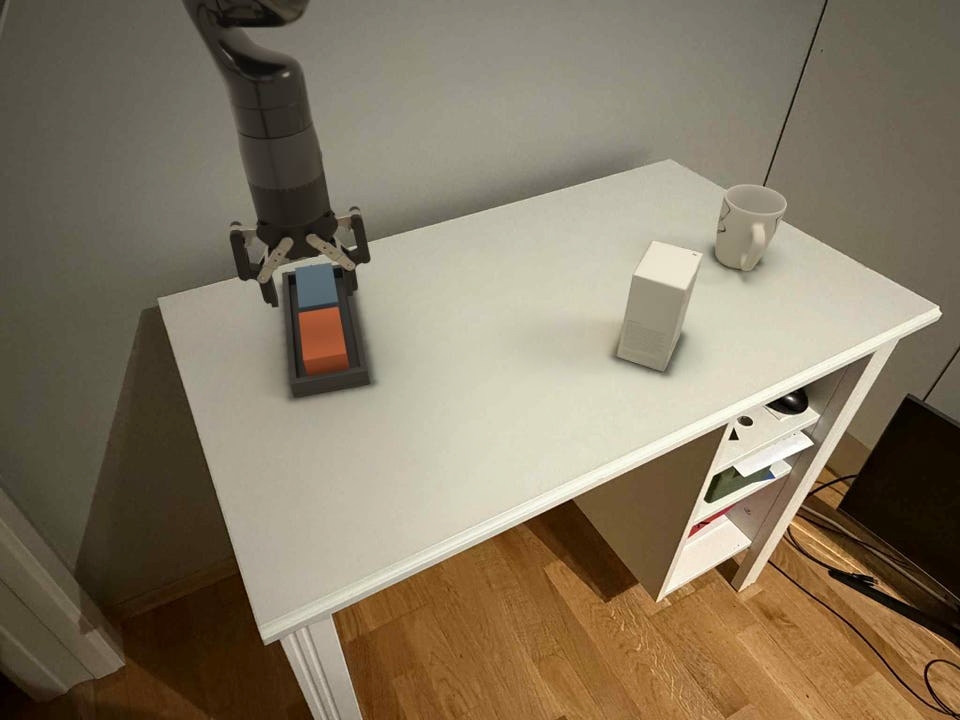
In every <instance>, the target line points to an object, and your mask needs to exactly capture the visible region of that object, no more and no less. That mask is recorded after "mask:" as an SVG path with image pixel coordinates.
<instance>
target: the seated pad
mask: <svg viewBox="0 0 960 720" xmlns="http://www.w3.org/2000/svg"><path fill="white" fill-rule="evenodd" d="M332 265H333V263H332V262H325V263H320V264H319V263H318V264H313V265H305V266H299V267H294V271H295V274H296V284H297V294H298V304H299V310H300V313H303V312H309V311H315V310H321V309H327V308H334V307H338V308H339V313H340V318H341V312H340V307H339V301H338V295H337V289H336V283H335V278H334V273H333V268H332ZM341 322H342V318H341Z"/></svg>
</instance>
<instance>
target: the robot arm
mask: <svg viewBox="0 0 960 720" xmlns="http://www.w3.org/2000/svg"><path fill="white" fill-rule="evenodd" d="M179 1H180V4H181V6H182V8H183V10H184V12H185V14H186V15H187V18H188V19H189V21H190V23H191V24H192V26H193V28H194V30H195V31H196V33H197V35H198V37H199V38H200V40H201V41H202V44H203V45H204V47H205V49H206V51H207V53H208V55H209V56H210V59H211V61H212V63H213V65H214V66H215V69H216V70H217V73H218V75H219V76H220V78H221V81H222V82H223V84H224V86H225V90H226V91H225V92H226V95H227V98H228V102H229V106H230V110H231V113H232V117H233V121H234V125H235V128H236V133H237V139H238V149H239V154H240V158H241V162H242V166H243V169H244V172H245V177H246V181H247V185H248V188H249V192H250V195H251V196H250V197H251V199H252V203H253V207H254V210H255V214H256V219H257V221H256V224H247V225H243V224H242V223H241V222H239V221H237V220H233V221H232V222H230V224H229V243H230V246H231V250H232V254H233V259H234V263H235V267H236V273H237V276H238V279H239V280H240V281H242V282H247V281H249V280H254V281H256V282H257V283H258V285H259V288H260V290H261V296H262V299H263V301H264V303H265V304H266V305H270V306H271V308H272V309H274V308H279V305H280V304H279V297H278V293H277V288H276V284H275V281H274V276H273V274H274V272H275V271H276V270H278V268H279V267H280V265H281V263H282V262H283V260H284V259H288V260H289V262H290V261H297V260H300V259H302V258H310V259H311V258H318V257H319V255H320V254H323V255H324V256H325V257H326V258H328V259H329V260H331V261H332V262H336V263H337V264H340V265H341V266H342V268H343V274H344V280H345V286H346V291H347V296H353V297H354V292H356V291H358V288H359V284H358V276H357V271H356V269H357V267H358V266H359V265H361V264H363V265H366V264H369V263H370V262H371V257H372V256H371V253H370V249H369V244H368V240H367V239H368V237H367V234H366V229H365V224H364V220H363V216H362V212H361V208H359V207H358V206H356V205H354V206H351V207H349V210H348V211H345V212H341V213H335V212H334V210H333V209H332V207H331V201H330V196H329V190H328V185H327V179H326V173H325V167H324V161H323V153H322V149H321V145H320V140H319V136H318V134H317V131H316V127H315V124H314V120H313V114H312V109H311V104H310V98H309V92H308V86H307V80H306V76H305V72H304V68H303V66H302V63H301V62H300V61H299V59H297V58H296V57H295V56H293V55H292V54H291V53H287V52H283V51H280V50H277V49H274V48H270V47H266V46H264V45H261V44H260V43H258V42H256V41H254V40H253V39H252V38H251V36H250V35H249V33H248V32H247V31H246V30H245V29H286V28H290V27H293V26H294V25H295V26H296V25H297V24H298V23H299V22H300V21H301V20H302V19H304V17H305V16H306V14H307V12H308V11H309V8H310V6H311V2H312V0H179ZM10 4H11V0H0V41H2V36H3V32H4V28H5V24H6V20H7V17H8V16H7V15H8V12H9V7H10ZM339 227H343V228H344V229H345V231H346V232H347V233H349V234H353V235H354V240H355V244H356V247H355V248H353V249H351V250H350V248H348V247H347V246H346V245H345V244H343V243H342V242H341V240H340V239H339V238H338V237H337V236H336V235H335V234H336V232H337V230H338V229H339ZM254 238H257V239H258V240H259V241H261V242H262V243H264V244H265V245H266V246H265V248H264V251H263V253H262V256H261V257H260V258H259V261H258V262H257V263H256V262H251V260H250V256H249V252H248V248H249V247H251V246H252V245H253V240H254Z"/></svg>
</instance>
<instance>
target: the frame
mask: <svg viewBox="0 0 960 720" xmlns="http://www.w3.org/2000/svg"><path fill="white" fill-rule="evenodd" d="M332 268H333V273H334V278H335V283H336V289H337V295H338V301H339V307H340V312H341V318H342V322H341V323H342V329H343V334H344V340H345V346H346V352H347V357H348V363H349V369H346V370H340V371H335V372H329V373H323V374H318V375H312V376H307V373H306V369H305V365H304V361H303V352H302V342H301V332H300V322H299V313H300V310H299V304H298V294H297V284H296V274H295V270H292V271H285V272H281V280H282V293H283V294H282V296H283V307H284V308H283V309H284V321H285V322H284V323H285V332H286V333H285V335H286V349H287V350H286V351H287V363H288V364H287V365H288V377H289V379H288V380H289V386H290V389H291V392H292V395H293V398H294V399H295V398H301V397H305V396H311V395H316V394H317V395H318V394H322V393H328V392H333V391H337V390H344V389H348V388H355V387H361V386H366V385H370V384H371V381H370V380H371V379H370V373H369V367H368V363H367V358H366V353H365V349H364V343H363V339H362V338H363V337H362V334H361V327H360V323H359V318H358V313H357V308H356V304H355V303H356V302H355V298H354V295H353V296H347V291H346V286H345V280H344V274H343V268H342V266H341V265H340V264H339V263H337V264H332Z"/></svg>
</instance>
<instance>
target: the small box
mask: <svg viewBox="0 0 960 720" xmlns="http://www.w3.org/2000/svg"><path fill="white" fill-rule="evenodd" d="M703 257H704V253H701V252H698V251H695V250H692V249H688V248H684V247H680V246H677V245H674V244H673V245H672V244H669V243H665V242H661V241H657V240H652V241H651V242H650V244H649V245H648V247H647V249H646V251H644V253H643V256H642V257H641V259H640V261H639V263H638V264H637V266H636V267H635V269H634V271H633V273H632V276H631V282H630V287H629V292H628V297H627V302H626V307H625V312H624V317H623V322H622V326H621V333H620V336H619V341H618V346H617V350H616V351H617V352H616V357H617V358H620V359H622V360H626V361H628V362H632V363H634V364H637V365H641V366H643V367H647V368H650V369H652V370H656V371H659V372H665V371H666V369H667V366H668V364H669V361H670V359H671V357H672V355H673V352H674V350H675V348H676V345H677V343H678V341H679V340H680V336H681V332H682V329H683V325H684V322H685V318H686V314H687V311H688V308H689V304H690V301H691V298H692V295H693V291H694V288H695V284H696V282H697V281H696V280H697V277H698V274H699V270H700V267H701V263H702V260H703Z"/></svg>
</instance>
